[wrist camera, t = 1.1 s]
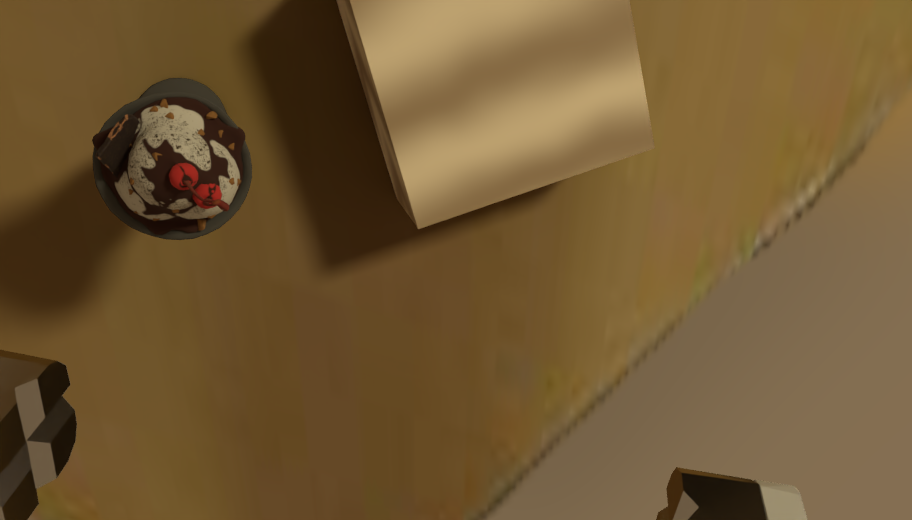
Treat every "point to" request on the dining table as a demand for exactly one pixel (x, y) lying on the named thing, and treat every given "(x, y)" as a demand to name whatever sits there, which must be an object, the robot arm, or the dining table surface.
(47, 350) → the dining table surface
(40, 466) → the robot arm
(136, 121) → the sundae
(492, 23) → the block
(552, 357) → the dining table surface
